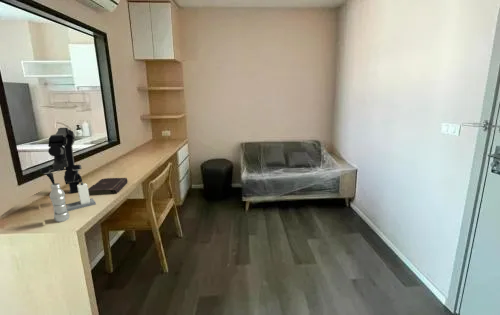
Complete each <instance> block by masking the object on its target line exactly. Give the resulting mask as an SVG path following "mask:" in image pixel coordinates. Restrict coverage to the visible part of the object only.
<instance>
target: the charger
mask: <svg viewBox="0 0 500 315" xmlns="http://www.w3.org/2000/svg"><path fill="white" fill-rule="evenodd" d="M77 188H78V192H77V193H78V198H79V201H80V205H81V204H85V203H90V199H91V198H90V195H89V191H88V189H89V187H88V184H87V183H86V182H85V183H84V182H83V181H82V182H80V183H79V185H77Z"/></svg>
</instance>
